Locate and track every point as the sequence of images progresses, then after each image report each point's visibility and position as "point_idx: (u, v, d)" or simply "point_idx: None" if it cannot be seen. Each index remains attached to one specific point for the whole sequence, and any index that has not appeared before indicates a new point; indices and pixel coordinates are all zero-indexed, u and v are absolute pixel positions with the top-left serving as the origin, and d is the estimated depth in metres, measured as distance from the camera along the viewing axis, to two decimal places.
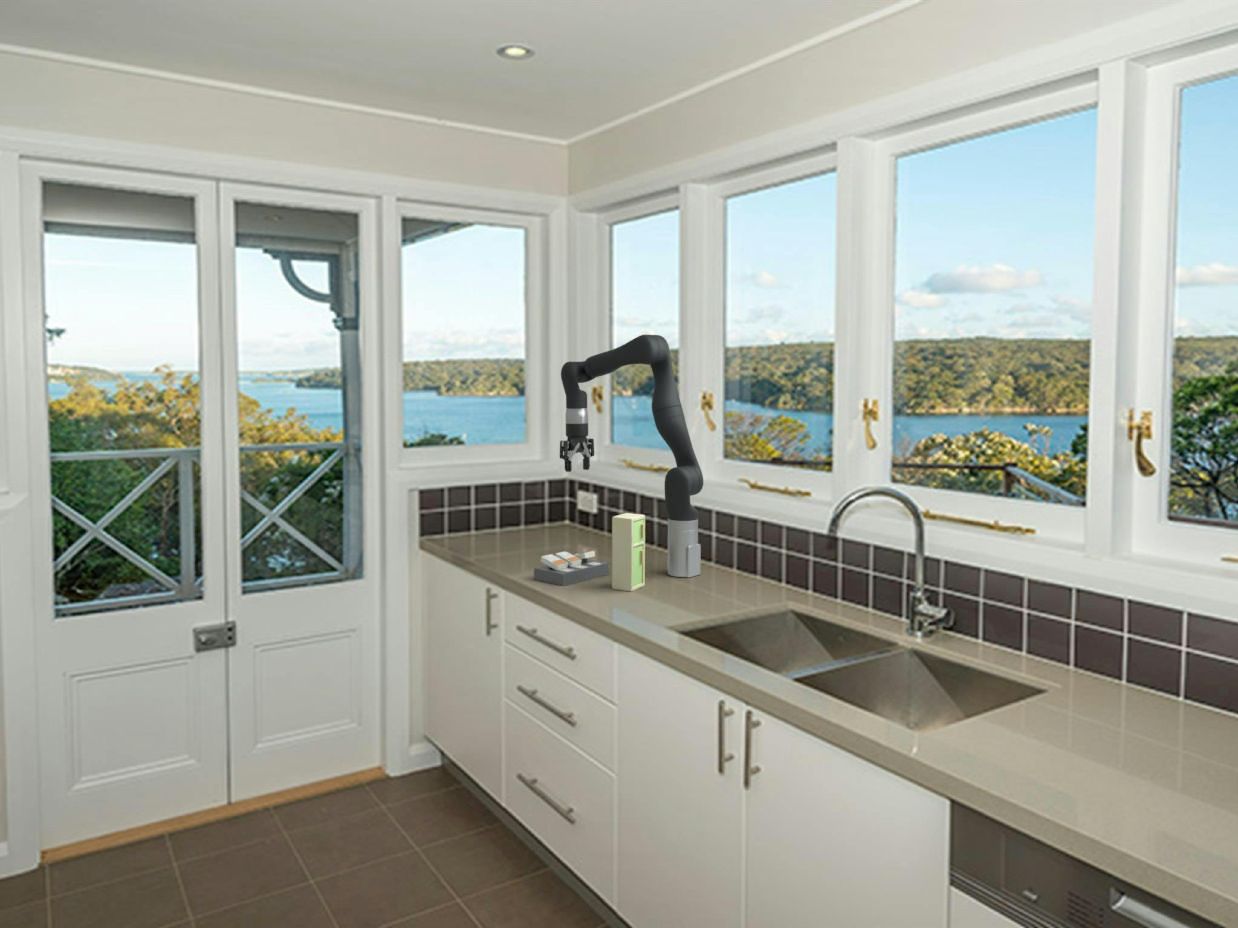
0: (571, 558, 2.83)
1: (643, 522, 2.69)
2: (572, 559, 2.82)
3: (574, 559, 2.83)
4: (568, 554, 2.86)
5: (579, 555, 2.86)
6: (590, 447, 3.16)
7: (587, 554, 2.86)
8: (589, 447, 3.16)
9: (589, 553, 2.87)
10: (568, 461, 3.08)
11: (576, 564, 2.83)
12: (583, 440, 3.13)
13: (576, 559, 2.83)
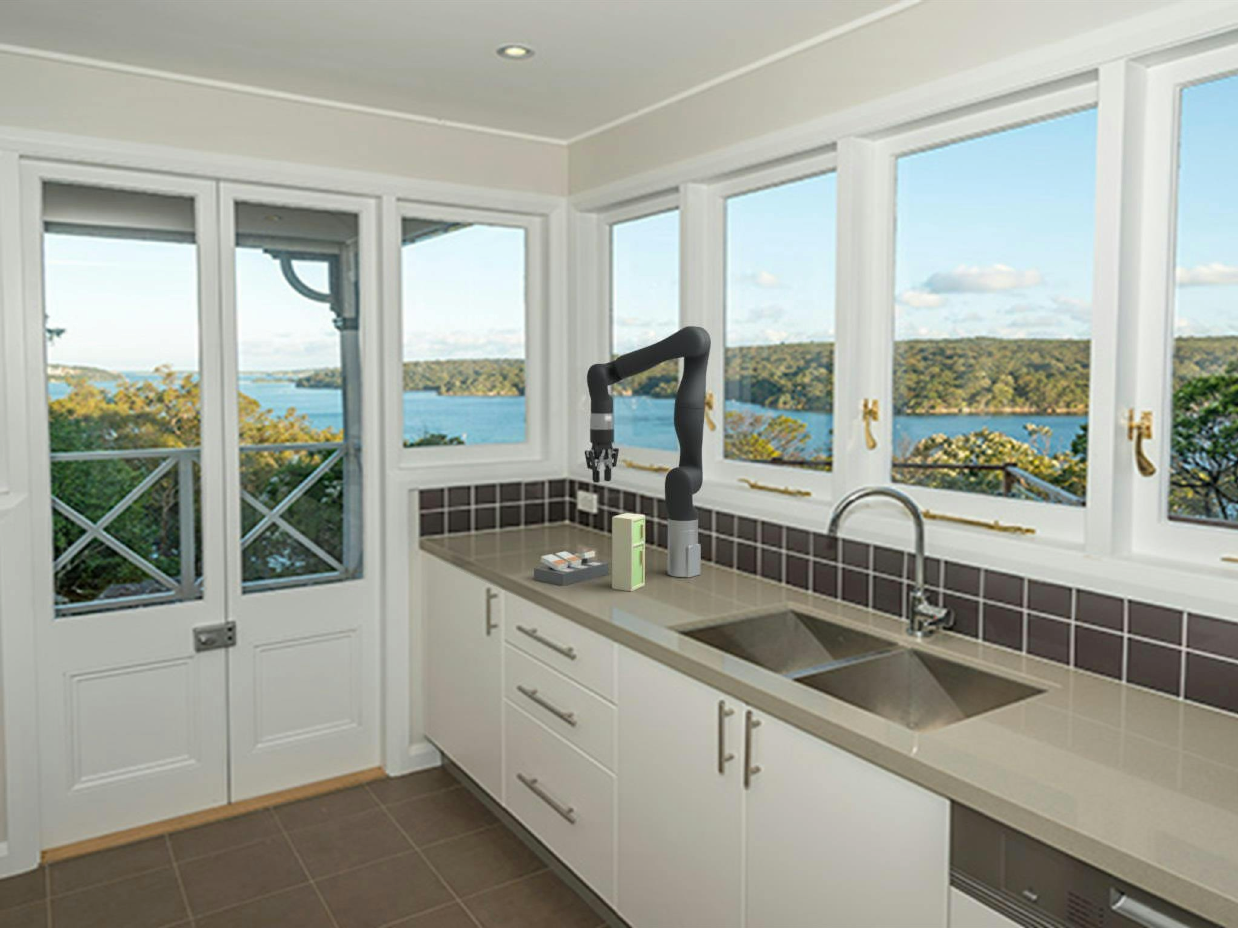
0: (571, 558, 2.83)
1: (643, 522, 2.69)
2: (572, 559, 2.82)
3: (574, 559, 2.83)
4: (568, 554, 2.86)
5: (579, 555, 2.86)
6: (613, 457, 2.98)
7: (587, 554, 2.86)
8: (612, 457, 2.99)
9: (589, 553, 2.87)
10: (596, 471, 2.93)
11: (576, 564, 2.83)
12: (608, 447, 2.95)
13: (576, 559, 2.83)
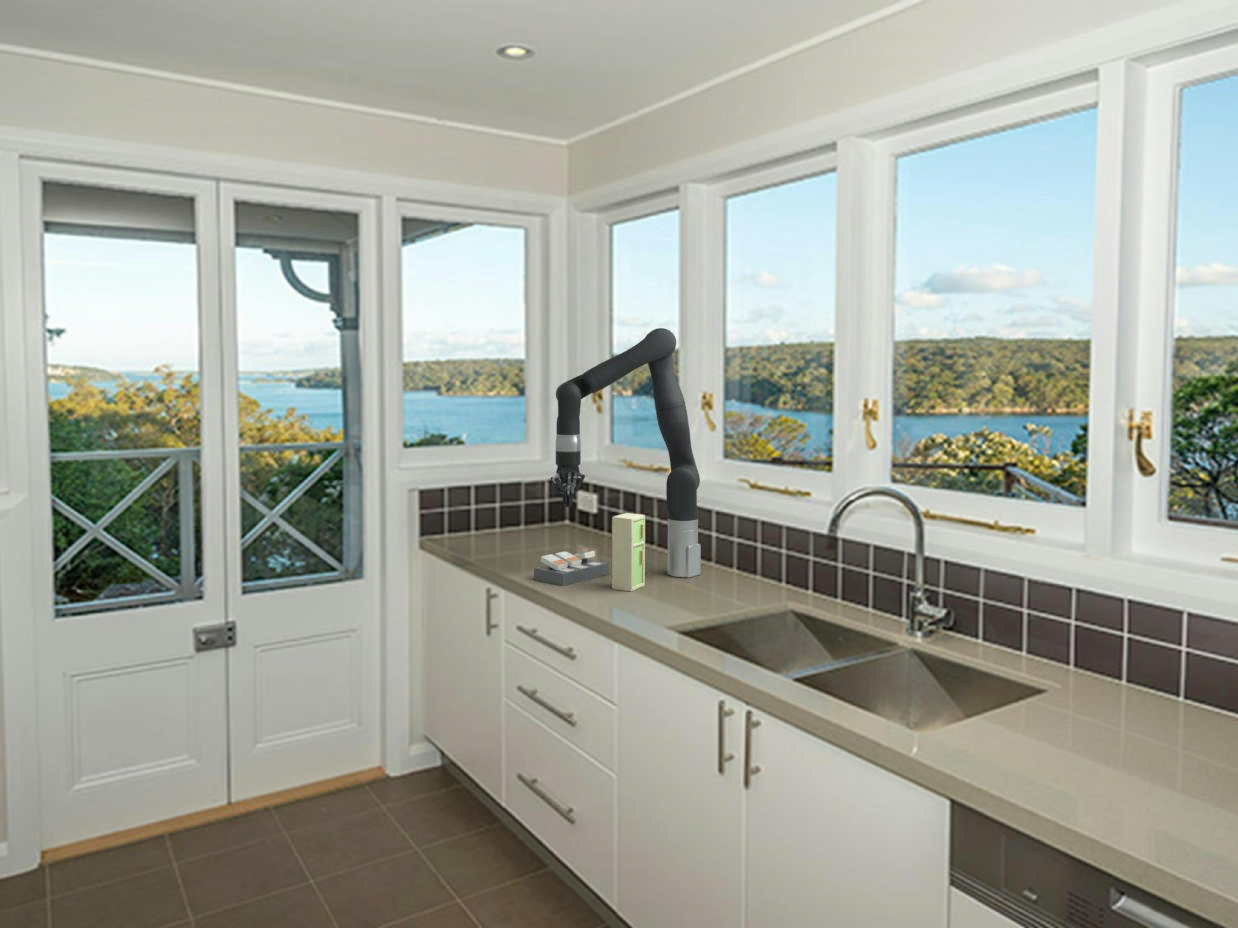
0: (571, 558, 2.83)
1: (643, 522, 2.69)
2: (572, 559, 2.82)
3: (574, 559, 2.83)
4: (568, 554, 2.86)
5: (579, 555, 2.86)
6: (577, 481, 2.85)
7: (587, 554, 2.86)
8: (576, 481, 2.85)
9: (589, 553, 2.87)
10: (567, 495, 2.82)
11: (576, 564, 2.83)
12: (575, 469, 2.83)
13: (576, 559, 2.83)
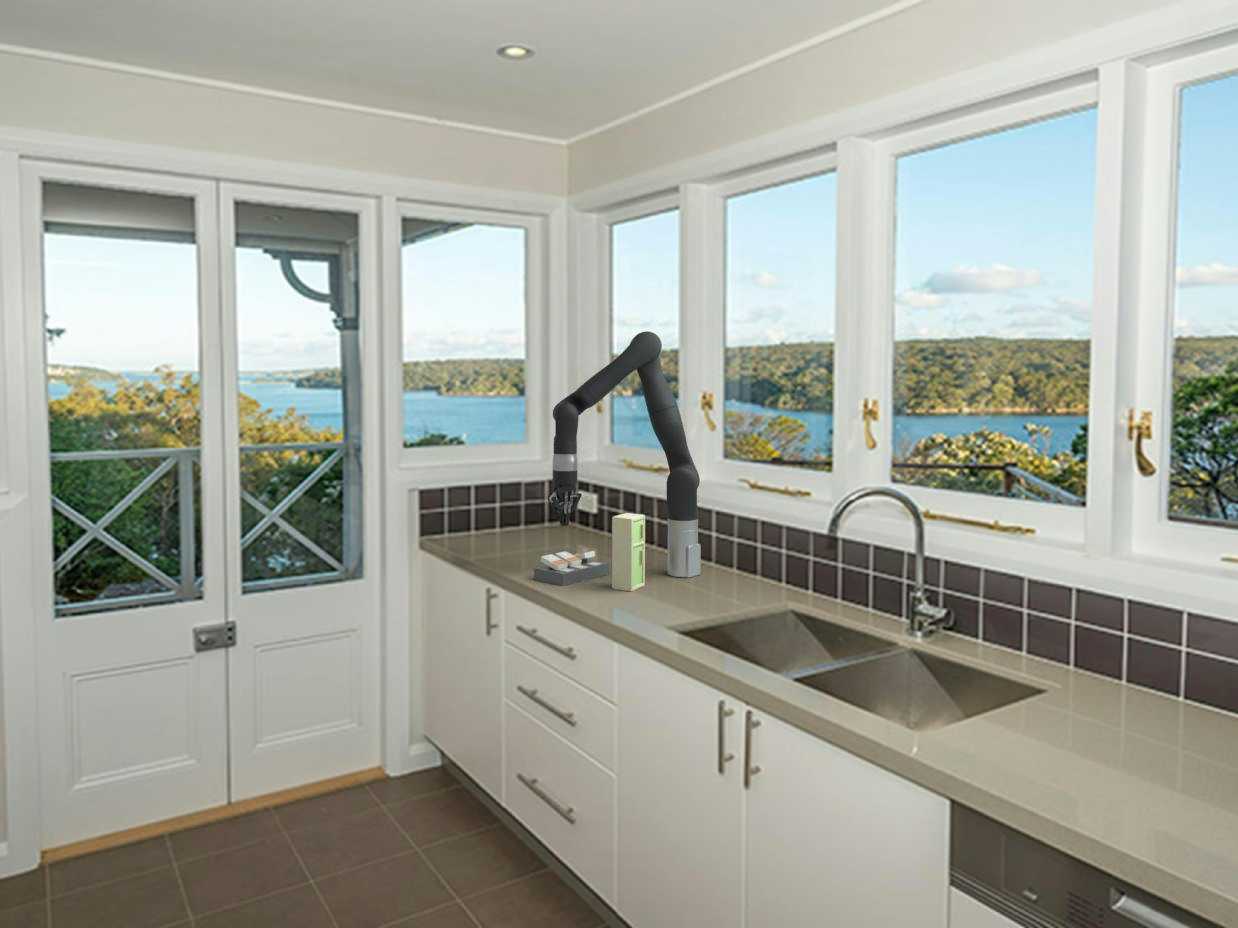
0: (571, 558, 2.83)
1: (643, 522, 2.69)
2: (572, 559, 2.82)
3: (574, 559, 2.83)
4: (568, 554, 2.86)
5: (579, 555, 2.86)
6: (574, 500, 2.86)
7: (587, 554, 2.86)
8: (573, 500, 2.86)
9: (589, 553, 2.87)
10: (563, 514, 2.83)
11: (576, 564, 2.83)
12: (571, 488, 2.84)
13: (576, 559, 2.83)
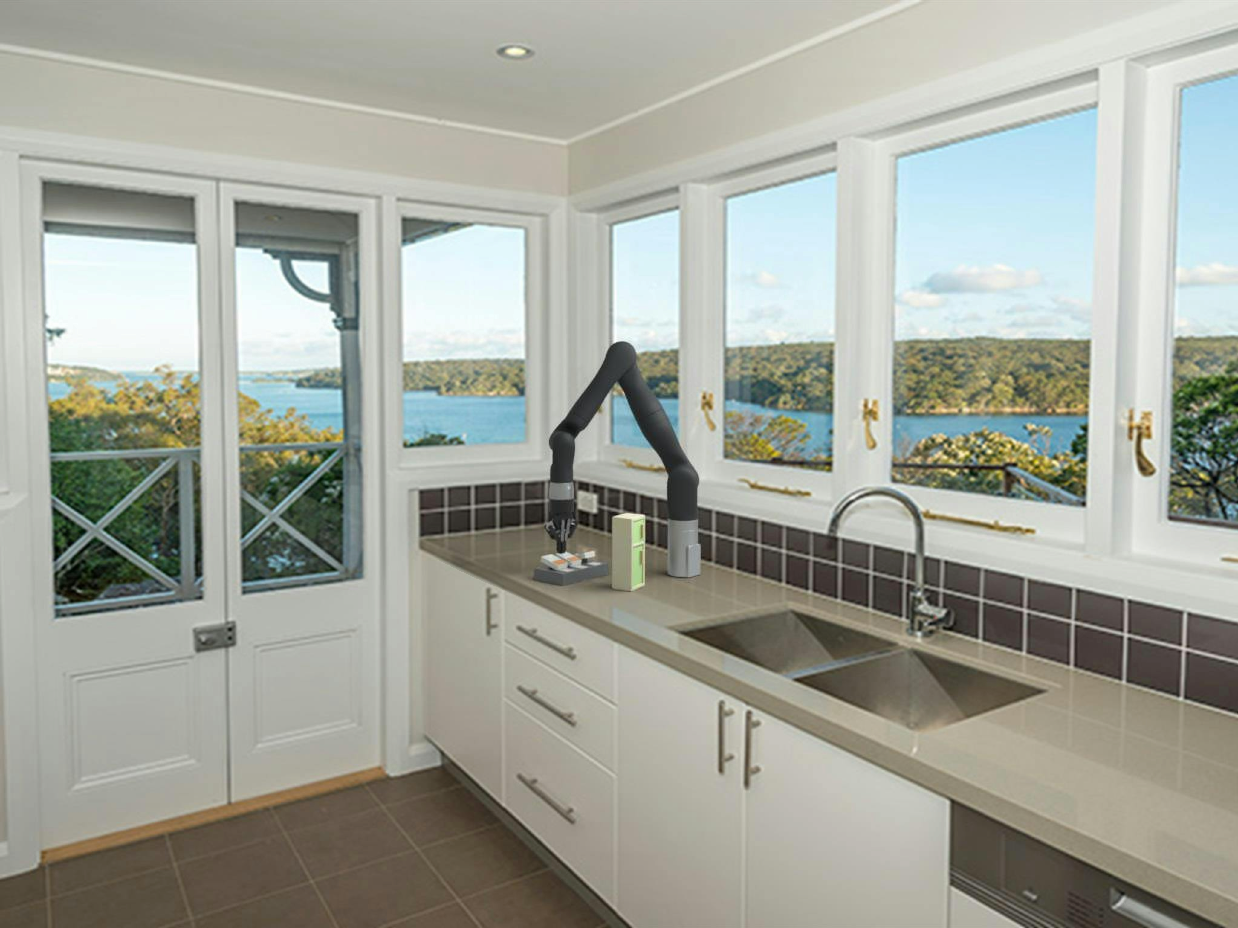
0: (571, 558, 2.83)
1: (643, 522, 2.69)
2: (572, 559, 2.82)
3: (574, 559, 2.83)
4: (568, 554, 2.86)
5: (579, 555, 2.86)
6: (571, 528, 2.88)
7: (587, 554, 2.86)
8: (570, 528, 2.88)
9: (589, 553, 2.87)
10: (560, 542, 2.85)
11: (576, 564, 2.83)
12: (568, 516, 2.86)
13: (576, 559, 2.83)
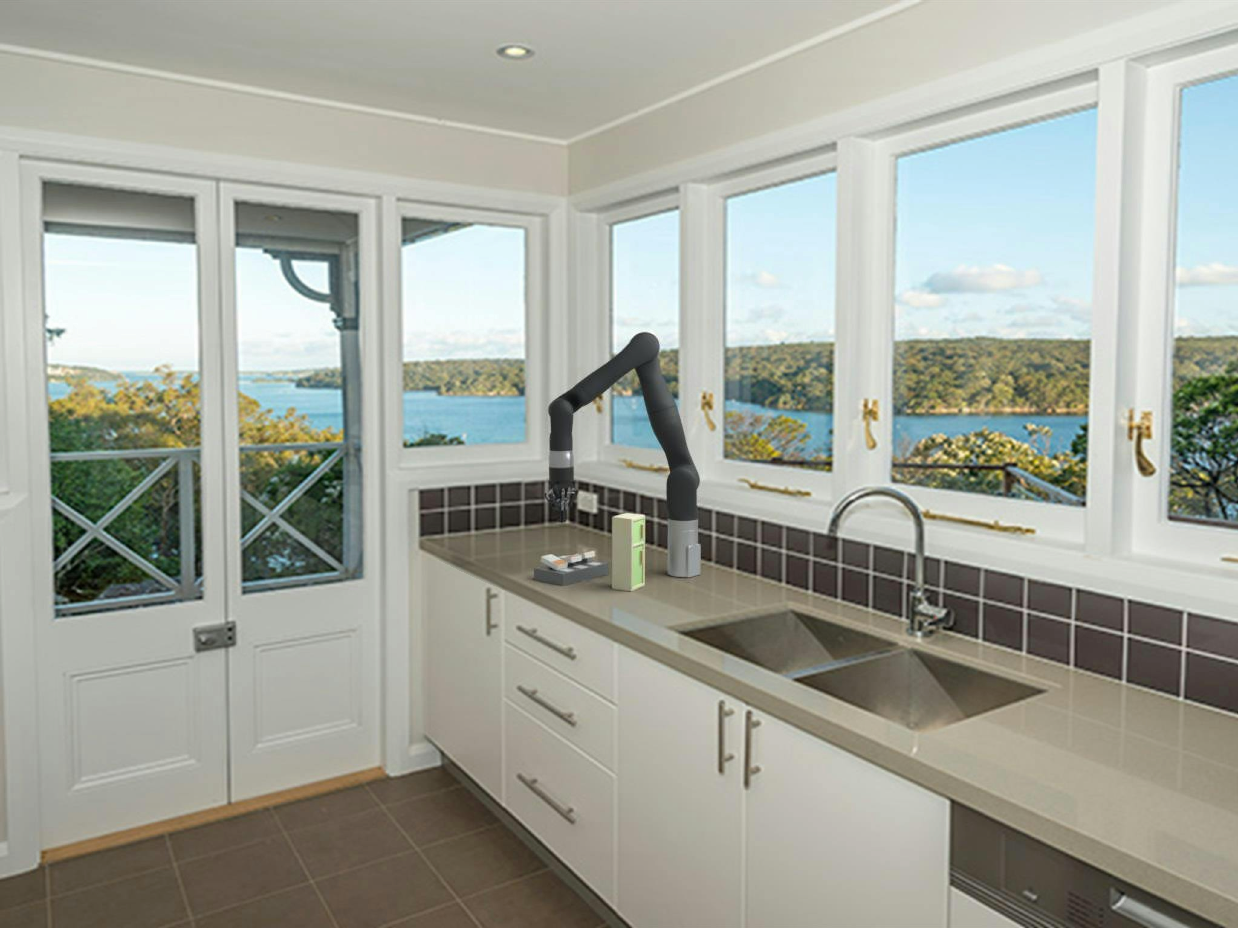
0: (570, 556, 2.83)
1: (643, 522, 2.69)
2: (571, 556, 2.82)
3: (573, 555, 2.83)
4: None
5: None
6: (571, 497, 2.86)
7: (587, 554, 2.86)
8: (570, 497, 2.87)
9: (589, 553, 2.87)
10: (561, 511, 2.83)
11: (577, 559, 2.82)
12: (568, 485, 2.84)
13: (575, 555, 2.83)
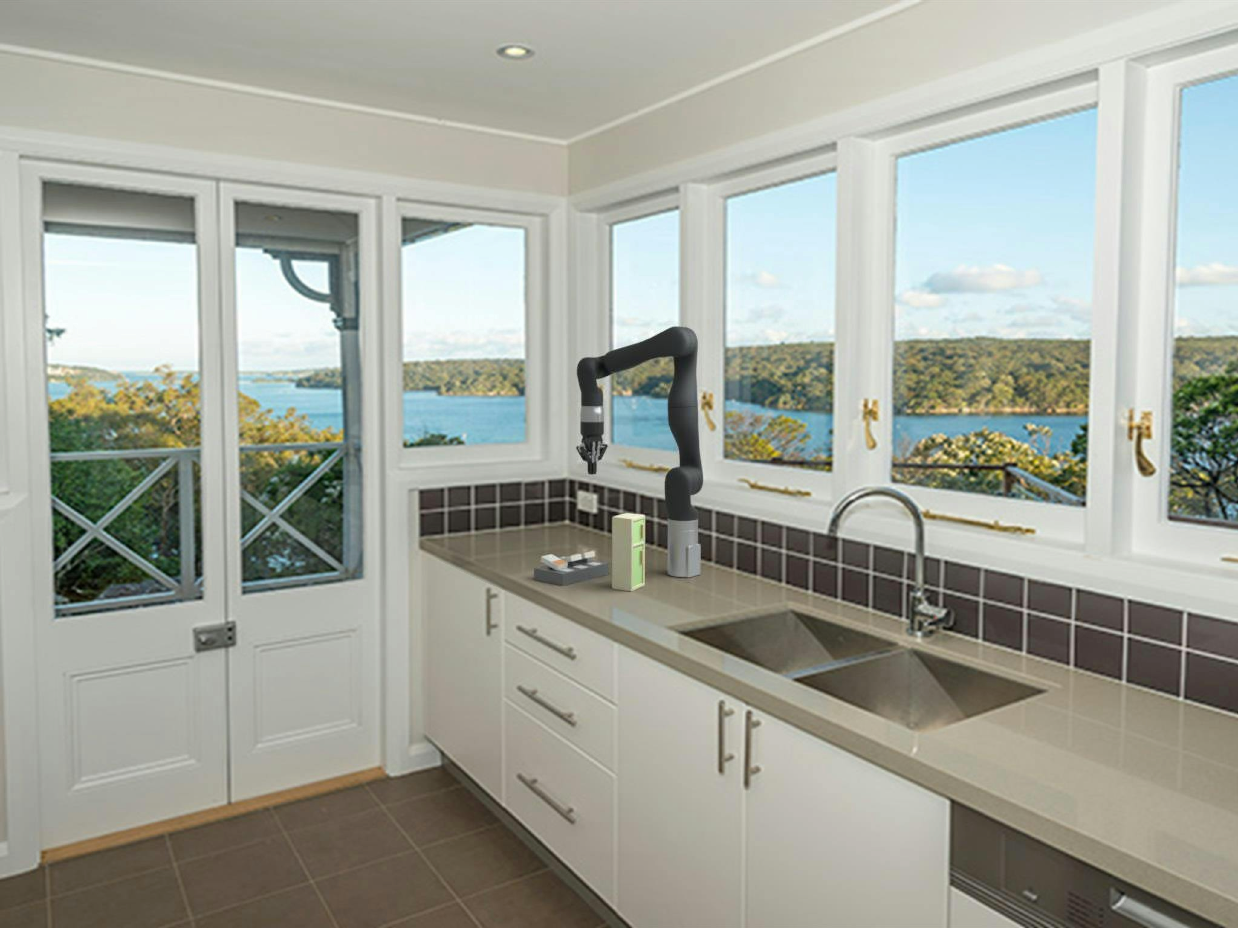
0: (570, 555, 2.83)
1: (643, 522, 2.69)
2: (571, 555, 2.82)
3: None
4: None
5: None
6: (601, 451, 3.03)
7: (587, 554, 2.86)
8: (600, 451, 3.03)
9: (589, 553, 2.87)
10: (591, 463, 2.99)
11: (576, 558, 2.82)
12: (598, 439, 3.01)
13: (575, 554, 2.83)
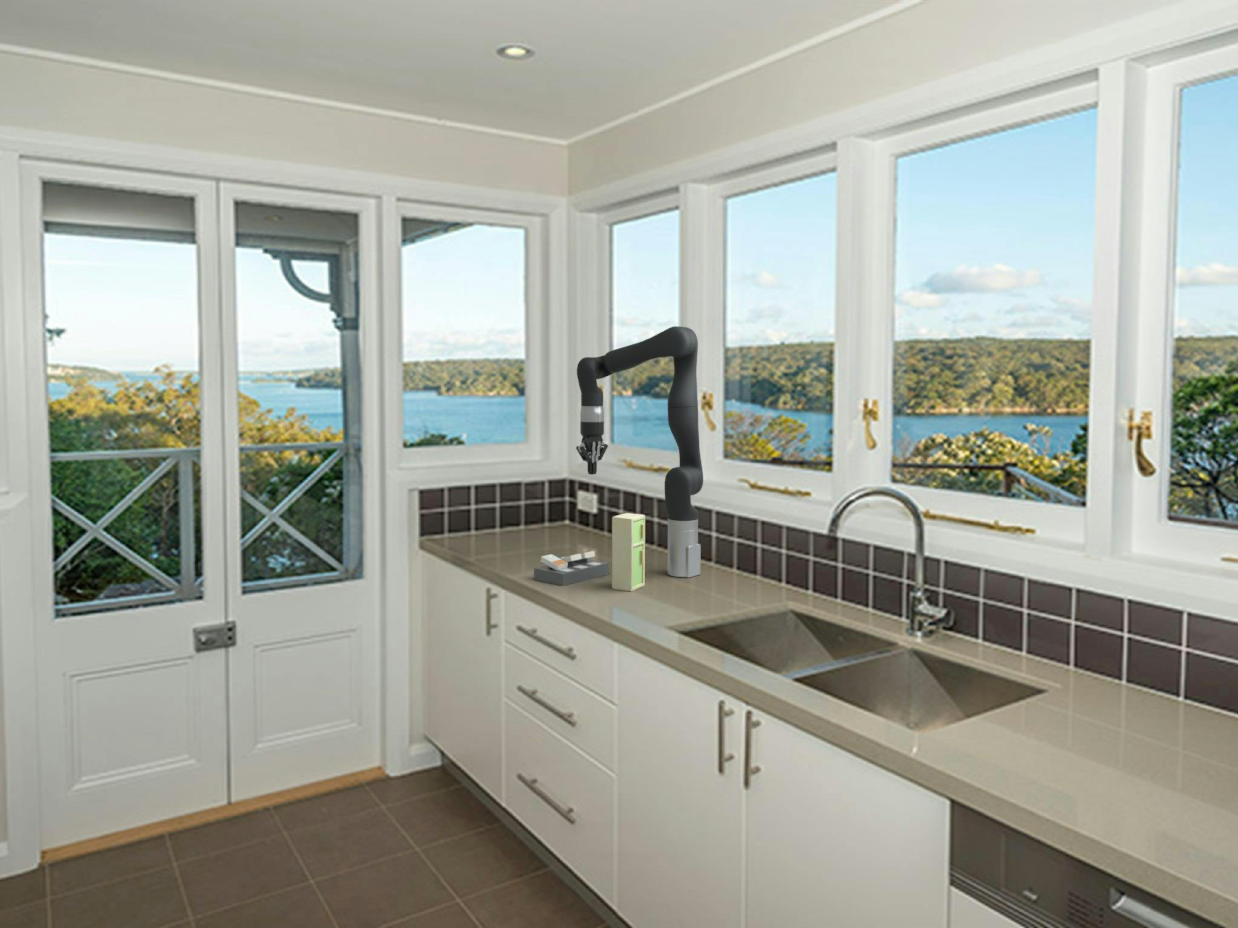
0: None
1: (643, 522, 2.69)
2: None
3: None
4: None
5: None
6: (601, 451, 3.03)
7: (587, 554, 2.86)
8: (600, 450, 3.03)
9: (589, 553, 2.87)
10: (591, 463, 2.99)
11: (576, 558, 2.82)
12: (598, 439, 3.01)
13: (575, 554, 2.83)
